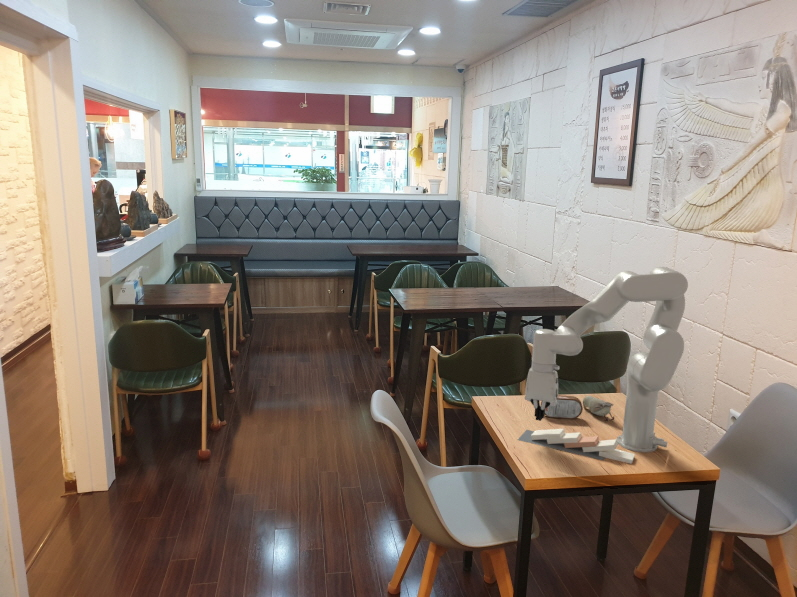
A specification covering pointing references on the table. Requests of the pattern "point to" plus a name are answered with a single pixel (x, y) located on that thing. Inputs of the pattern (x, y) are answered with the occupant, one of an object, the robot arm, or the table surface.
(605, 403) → the decorative bird
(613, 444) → the tile
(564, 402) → the tin
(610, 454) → the tile
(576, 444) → the tile
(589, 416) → the table surface
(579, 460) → the table surface
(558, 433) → the tile
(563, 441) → the tile
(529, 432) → the slate mat
